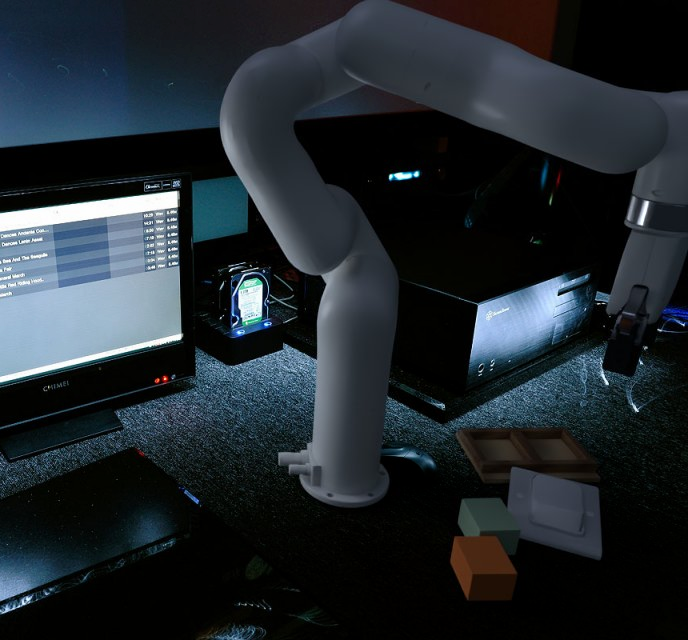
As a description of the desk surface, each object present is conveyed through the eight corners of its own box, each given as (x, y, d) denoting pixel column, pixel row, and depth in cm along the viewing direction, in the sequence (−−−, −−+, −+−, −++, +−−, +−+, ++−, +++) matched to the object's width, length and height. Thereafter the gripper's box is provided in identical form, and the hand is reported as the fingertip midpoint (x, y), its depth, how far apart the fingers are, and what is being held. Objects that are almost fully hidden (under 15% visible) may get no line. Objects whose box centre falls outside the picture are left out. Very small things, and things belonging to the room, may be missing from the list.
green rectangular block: (475, 556, 82) (480, 530, 80) (457, 522, 87) (461, 498, 85) (515, 555, 82) (521, 529, 80) (495, 522, 87) (500, 497, 86)
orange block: (467, 600, 75) (472, 574, 74) (450, 561, 81) (454, 536, 79) (511, 600, 75) (517, 573, 74) (491, 561, 81) (496, 535, 79)
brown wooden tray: (483, 483, 94) (486, 470, 94) (455, 435, 105) (457, 423, 105) (599, 482, 94) (603, 469, 93) (558, 434, 105) (561, 422, 104)
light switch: (509, 514, 83) (515, 450, 93) (503, 537, 85) (510, 473, 95) (608, 541, 79) (603, 471, 89) (599, 564, 81) (595, 494, 91)
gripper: (645, 194, 79) (610, 325, 86) (608, 225, 67) (571, 374, 74) (722, 204, 74) (678, 342, 81) (697, 239, 62) (649, 396, 69)
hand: (627, 357), depth 78 cm, fingers open, 9 cm apart
